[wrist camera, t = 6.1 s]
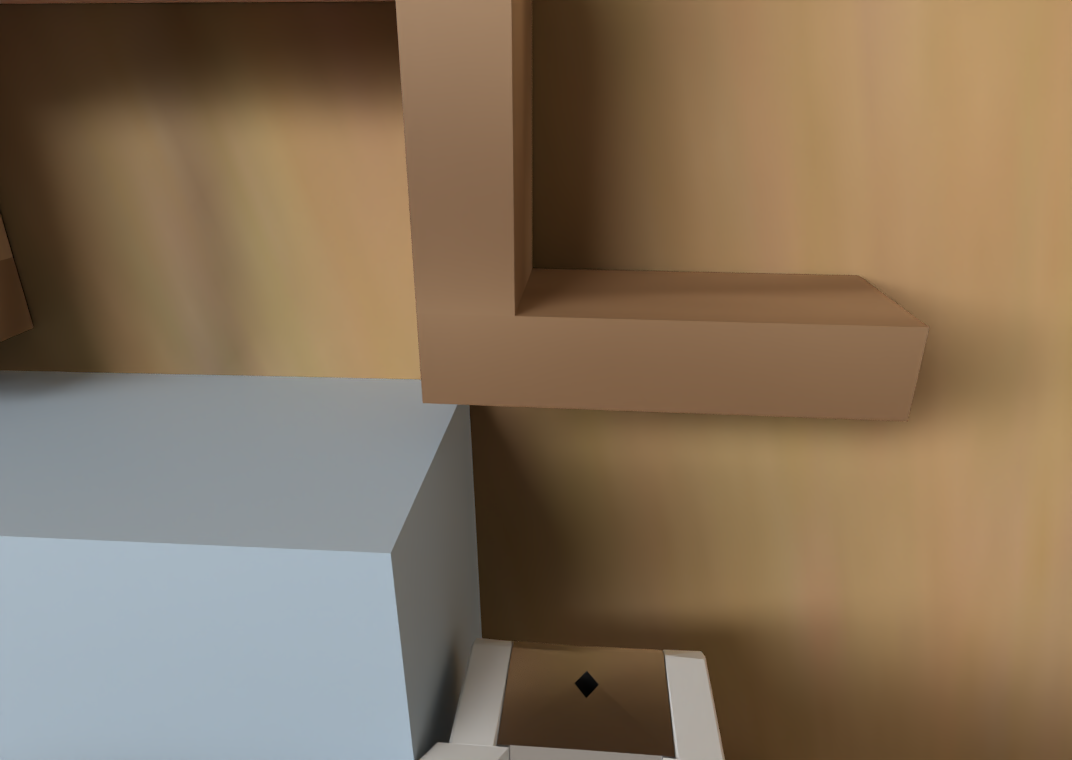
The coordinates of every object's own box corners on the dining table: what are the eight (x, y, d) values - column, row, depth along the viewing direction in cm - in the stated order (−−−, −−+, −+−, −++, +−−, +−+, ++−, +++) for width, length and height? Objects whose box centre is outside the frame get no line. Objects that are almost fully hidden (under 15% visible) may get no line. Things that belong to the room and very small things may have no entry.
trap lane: (-776, -84, 9) (-1609, -186, 5) (930, -117, 7) (1214, -289, 4) (-187, 873, 15) (-392, 1079, 12) (732, 961, 14) (771, 1223, 11)
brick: (-62, 364, 10) (-423, 517, 7) (469, 375, 10) (390, 553, 6) (36, 627, 12) (-203, 857, 9) (484, 652, 12) (431, 913, 8)
